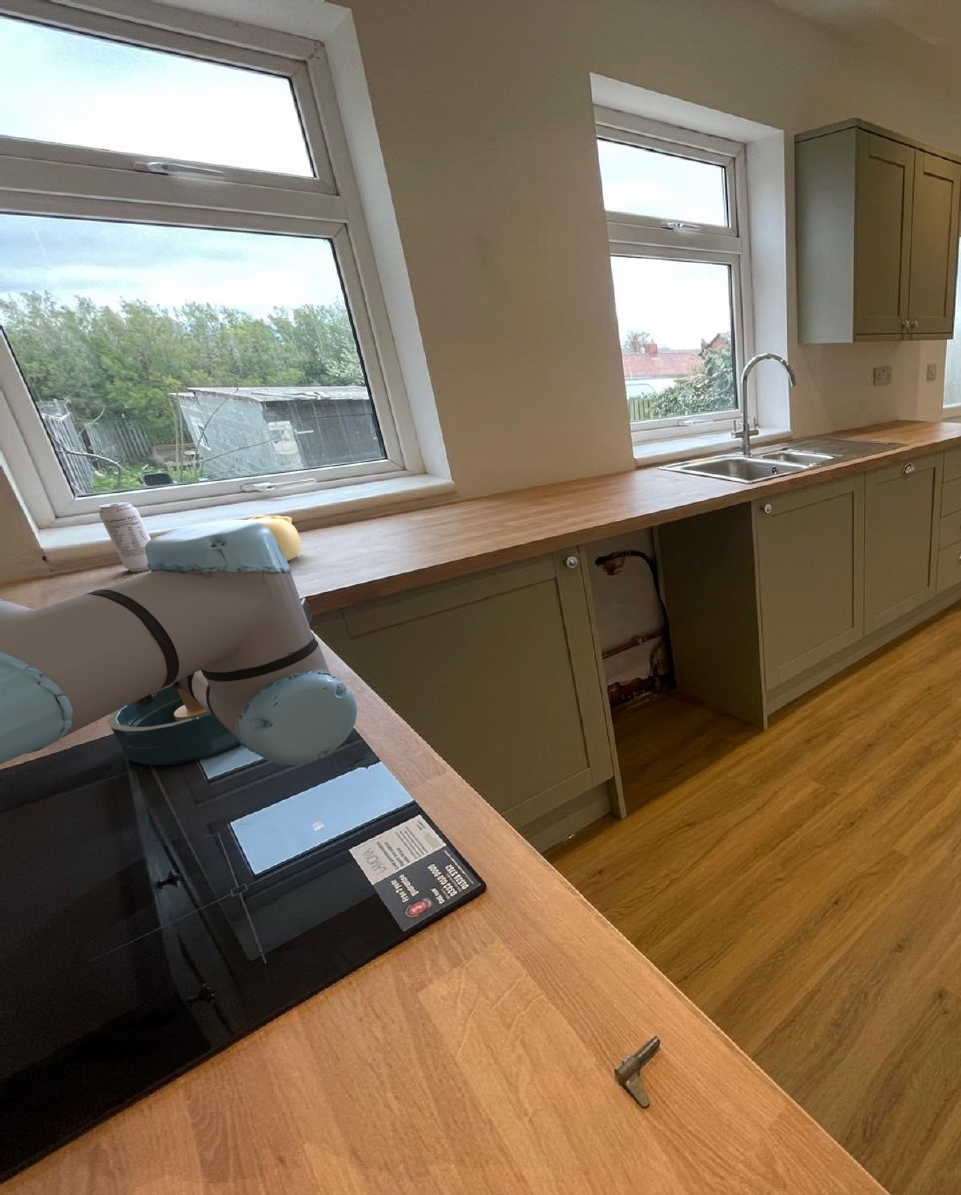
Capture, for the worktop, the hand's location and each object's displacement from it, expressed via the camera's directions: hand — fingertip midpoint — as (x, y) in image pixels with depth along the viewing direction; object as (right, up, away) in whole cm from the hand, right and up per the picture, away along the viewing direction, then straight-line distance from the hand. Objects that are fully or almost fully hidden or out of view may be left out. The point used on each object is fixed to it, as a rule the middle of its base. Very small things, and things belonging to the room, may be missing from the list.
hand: (176, 626), depth 71 cm
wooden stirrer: (-7, -13, +12) cm, 19 cm away
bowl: (-7, -14, +12) cm, 20 cm away
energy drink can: (-81, +10, +76) cm, 111 cm away
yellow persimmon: (-50, +11, +76) cm, 92 cm away
